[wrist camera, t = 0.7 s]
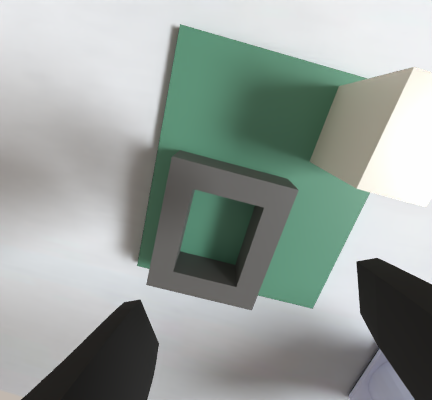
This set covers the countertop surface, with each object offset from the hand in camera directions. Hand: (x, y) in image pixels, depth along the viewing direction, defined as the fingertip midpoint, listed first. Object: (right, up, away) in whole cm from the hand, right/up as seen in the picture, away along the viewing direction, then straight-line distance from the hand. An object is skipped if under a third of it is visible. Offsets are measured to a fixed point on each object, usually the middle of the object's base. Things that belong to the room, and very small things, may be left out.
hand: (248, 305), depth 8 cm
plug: (+7, +8, +7) cm, 12 cm away
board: (+2, +4, +9) cm, 10 cm away
